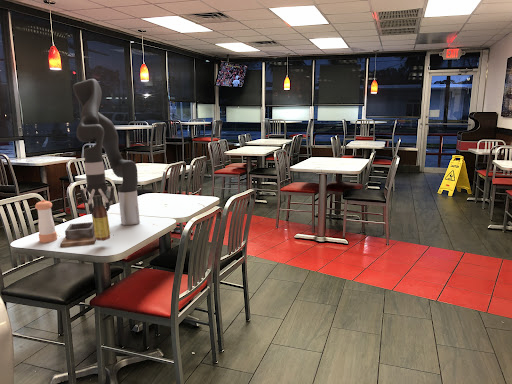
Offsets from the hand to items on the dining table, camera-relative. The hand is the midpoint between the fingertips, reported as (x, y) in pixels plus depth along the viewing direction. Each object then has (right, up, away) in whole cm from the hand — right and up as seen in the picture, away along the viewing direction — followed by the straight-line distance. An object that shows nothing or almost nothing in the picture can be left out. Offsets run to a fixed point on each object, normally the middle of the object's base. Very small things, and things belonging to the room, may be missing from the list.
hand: (99, 211), depth 175 cm
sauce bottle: (0, -12, +3) cm, 13 cm away
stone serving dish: (-14, -14, +15) cm, 24 cm away
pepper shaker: (-29, -14, +14) cm, 35 cm away
